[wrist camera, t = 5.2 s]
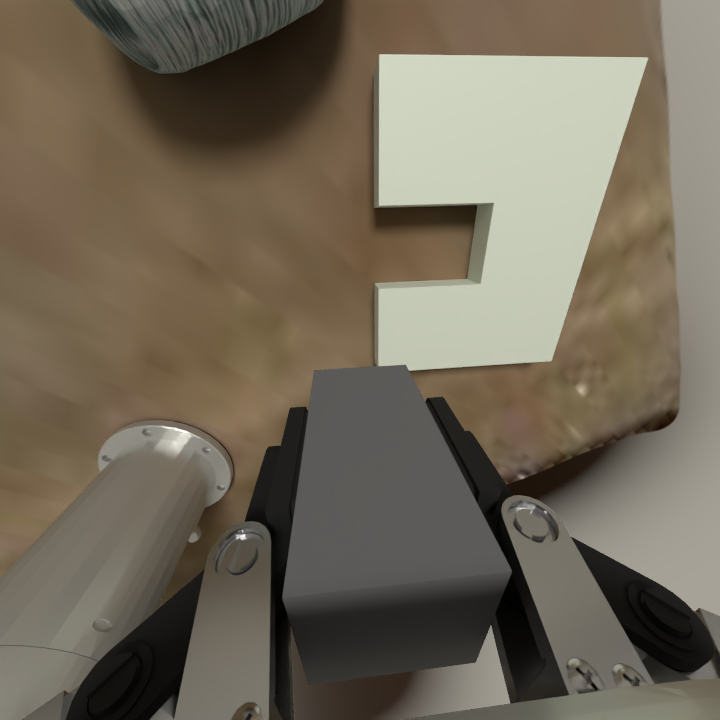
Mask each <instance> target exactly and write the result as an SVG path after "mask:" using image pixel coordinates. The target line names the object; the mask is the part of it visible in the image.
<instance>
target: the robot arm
mask: <svg viewBox="0 0 720 720" xmlns="http://www.w3.org/2000/svg"><path fill="white" fill-rule="evenodd" d="M425 403H426V405H427V407H428V409H429V411H430V412H431V414H432V416H433V418H434V420H435V422H436V424H437V426H438V428H439V430H440V432H441V434H442V436H443V438H444V440H445V442H446V444H447V446H448V447H449V449H450V451H451V453H452V455H453V457H454V459H455V461H456V463H457V465H458V467H459V469H460V471H461V473H462V475H463V477H464V479H465V480H466V482H467V484H468V486H469V488H470V490H471V492H472V494H473V496H474V498H475V500H476V502H477V504H478V506H479V508H480V510H481V512H482V513H483V515H484V517H485V519H486V521H487V523H488V525H489V527H490V529H491V531H492V533H493V535H494V537H495V539H496V541H497V543H498V545H499V547H500V548H501V550H502V552H503V554H504V556H505V558H506V560H507V562H508V564H509V566H510V568H511V570H512V573H511V576H510V578H509V581H508V583H507V586H506V588H505V591H504V593H503V595H502V598H501V600H500V603H499V605H498V608H497V610H496V613H495V615H494V618H493V620H492V623H491V626H492V630H493V634H494V638H495V642H496V646H497V650H498V654H499V659H500V663H501V667H502V671H503V675H504V679H505V683H506V687H507V691H508V695H509V699H510V703H511V704H504V705H498V706H491V707H484V708H477V709H470V710H464V711H456V712H450V713H443V714H436V715H429V716H423V717H416V718H409V719H402V720H720V616H718V615H715V614H713V613H711V612H708V611H706V610H703V609H701V608H699V609H698V610H696V611H693V610H691V608H690V607H689V606H688V605H687V604H686V603H685V602H684V601H682V600H681V599H680V598H679V597H677V596H676V595H675V594H674V593H673V592H671V591H669V590H668V589H666V588H665V587H663V586H662V585H660V584H658V583H656V582H654V581H653V580H651V579H649V578H647V577H645V576H643V575H642V574H640V573H638V572H636V571H634V570H632V569H630V568H628V567H627V566H625V565H623V564H621V563H619V562H617V561H615V560H614V559H612V558H610V557H608V556H606V555H604V554H602V553H600V552H598V551H597V550H595V549H593V548H591V547H589V546H587V545H586V544H584V543H582V542H580V541H578V540H576V539H574V538H572V537H571V536H570V535H569V533H568V531H567V529H566V528H565V526H564V524H563V523H562V521H561V520H560V518H559V517H558V516H557V514H556V513H554V512H553V511H552V510H551V509H550V508H549V507H548V506H546V505H544V504H543V503H541V502H540V501H538V500H535V499H533V498H530V497H526V496H513V494H512V493H511V491H510V490H509V488H508V487H507V485H506V484H505V482H504V481H503V479H502V478H501V476H500V475H499V473H498V471H497V470H496V468H495V467H494V465H493V464H492V462H491V461H490V459H489V458H488V456H487V455H486V453H485V452H484V450H483V449H482V447H481V446H480V444H479V443H478V441H477V440H476V438H475V437H474V435H473V434H472V433H471V432H470V431H464V429H463V428H462V426H461V424H460V423H459V421H458V420H457V418H456V417H455V415H454V413H453V412H452V410H451V409H450V407H449V405H448V404H447V402H446V401H445V399H444V398H443V397H435V398H427V400H426V402H425ZM307 418H308V411H307V409H306V407H295V408H290V410H289V414H288V418H287V422H286V427H285V431H284V435H283V439H282V443H281V446H271V447H268V448H267V450H266V453H265V456H264V459H263V463H262V466H261V469H260V473H259V476H258V479H257V482H256V486H255V489H254V492H253V496H252V499H251V502H250V506H249V509H248V512H247V516H246V519H245V522H242V523H240V524H237V525H235V526H233V527H231V528H230V529H228V530H227V531H225V532H224V533H223V534H222V535H221V536H220V537H219V538H218V539H217V540H216V542H215V543H214V545H213V546H212V548H211V549H210V552H209V555H208V558H207V561H206V565H205V570H203V571H202V572H201V573H200V574H199V575H198V576H196V577H195V578H194V579H193V580H192V581H191V582H189V583H188V584H187V585H186V586H185V587H184V588H182V589H181V590H180V591H179V592H178V593H176V594H175V595H174V596H173V597H172V598H171V599H169V600H168V601H167V602H166V603H165V604H164V605H162V606H161V607H160V608H159V609H158V610H157V608H158V606H159V603H160V601H161V599H162V597H163V595H164V593H165V590H166V588H167V586H168V584H169V582H170V579H171V577H172V575H173V573H174V571H175V569H176V566H177V564H178V562H179V560H180V558H181V556H182V553H183V551H184V549H185V547H186V545H187V542H188V541H189V542H191V543H193V542H196V541H197V540H198V539H199V538H200V537H201V533H202V532H201V530H200V528H199V526H198V522H199V520H200V518H201V515H202V513H203V511H204V509H205V508H206V507H209V506H211V505H212V504H214V503H216V502H217V501H218V500H220V499H221V498H222V497H223V496H224V495H225V493H226V492H227V491H228V488H229V486H230V484H231V481H232V477H233V465H232V461H231V458H230V456H229V455H228V453H227V452H226V450H225V449H224V448H223V447H222V446H221V444H220V443H219V442H218V441H216V440H215V439H214V438H212V437H211V436H210V435H208V434H206V433H205V432H203V431H201V430H199V429H197V428H194V427H192V426H189V425H186V424H182V423H178V422H174V421H165V420H146V421H141V422H136V423H132V424H130V425H127V426H125V427H123V428H121V429H120V430H118V431H116V432H115V433H114V434H113V435H112V436H111V437H110V438H109V439H108V440H107V441H105V443H104V444H103V446H102V447H101V449H100V451H99V454H98V467H99V470H100V473H99V474H98V475H97V477H96V478H95V479H94V480H93V481H92V482H91V483H90V484H89V485H88V486H87V487H86V488H85V489H84V490H83V491H82V492H81V493H80V495H79V496H78V497H77V498H76V499H75V500H74V501H73V502H72V503H71V504H70V505H69V506H68V507H67V508H66V509H65V510H64V511H63V513H62V514H61V515H60V516H59V517H58V518H57V519H56V520H55V521H54V522H53V523H52V524H51V525H50V526H49V527H48V528H47V529H46V531H45V532H44V533H43V534H42V535H41V536H40V537H39V538H38V539H37V540H36V541H35V542H34V543H33V544H32V545H31V546H30V547H29V549H28V550H27V551H26V552H25V553H24V554H23V555H22V556H21V557H20V558H19V559H18V560H17V561H16V562H15V563H14V564H13V565H12V567H11V568H10V569H9V570H8V571H7V572H6V573H5V574H4V575H3V576H2V577H1V578H0V720H294V699H293V675H292V648H291V625H290V622H289V618H288V615H287V612H286V609H285V605H284V602H283V599H282V596H283V588H284V581H285V574H286V567H287V560H288V553H289V546H290V539H291V532H292V525H293V517H294V510H295V503H296V496H297V489H298V482H299V475H300V468H301V461H302V453H303V446H304V439H305V432H306V425H307Z"/></svg>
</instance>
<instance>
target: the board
mask: <svg viewBox="0 0 720 720" xmlns="http://www.w3.org/2000/svg"><path fill="white" fill-rule="evenodd" d="M647 60H648V58H638V57H555V56H472V55H389V54H379V57H378V61H377V65H376V68H375V72H374V76H373V92H374V208H389V207H426V206H464V205H477V212H476V219H475V226H474V233H473V240H472V247H471V254H470V261H469V268H468V275H467V279H453V280H431V281H409V282H387V283H374V332H375V363H376V366H392V365H406V366H407V368H408V370H409V371H411V370H426V369H441V368H455V367H470V366H485V365H500V364H514V363H529V362H544V361H552V358H553V355H554V352H555V348H556V345H557V342H558V339H559V336H560V333H561V330H562V326H563V323H564V320H565V317H566V314H567V311H568V308H569V304H570V301H571V298H572V295H573V292H574V289H575V286H576V283H577V279H578V276H579V273H580V270H581V267H582V264H583V261H584V257H585V254H586V251H587V248H588V245H589V242H590V239H591V235H592V232H593V229H594V226H595V223H596V220H597V217H598V213H599V210H600V207H601V204H602V201H603V198H604V195H605V192H606V188H607V185H608V182H609V179H610V176H611V173H612V170H613V166H614V163H615V160H616V157H617V154H618V151H619V148H620V144H621V141H622V138H623V135H624V132H625V129H626V126H627V122H628V119H629V116H630V113H631V110H632V107H633V104H634V100H635V97H636V94H637V91H638V88H639V85H640V82H641V79H642V75H643V72H644V69H645V66H646V63H647Z"/></svg>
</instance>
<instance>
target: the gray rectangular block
mask: <svg viewBox="0 0 720 720" xmlns="http://www.w3.org/2000/svg"><path fill="white" fill-rule="evenodd" d="M511 573H512V570H511V568H510V566H509V564H508V562H507V560H506V558H505V556H504V554H503V552H502V550H501V548H500V547H499V545H498V543H497V541H496V539H495V537H494V535H493V533H492V531H491V529H490V527H489V525H488V523H487V521H486V519H485V517H484V515H483V513H482V512H481V510H480V508H479V506H478V504H477V502H476V500H475V498H474V496H473V494H472V492H471V490H470V488H469V486H468V484H467V482H466V480H465V479H464V477H463V475H462V473H461V471H460V469H459V467H458V465H457V463H456V461H455V459H454V457H453V455H452V453H451V451H450V449H449V447H448V446H447V444H446V442H445V440H444V438H443V436H442V434H441V432H440V430H439V428H438V426H437V424H436V422H435V420H434V418H433V416H432V414H431V412H430V411H429V409H428V407H427V405H426V403H425V401H424V399H423V397H422V395H421V393H420V391H419V389H418V387H417V385H416V383H415V381H414V379H413V378H412V376H411V374H410V372H409V370H408V368H407V366H406V365H392V366H376V367H360V368H344V369H328V370H314V375H313V382H312V390H311V397H310V404H309V411H308V418H307V425H306V432H305V439H304V446H303V453H302V461H301V468H300V475H299V482H298V489H297V496H296V503H295V510H294V517H293V525H292V532H291V539H290V546H289V553H288V560H287V567H286V574H285V581H284V588H283V596H282V599H283V602H284V605H285V609H286V612H287V615H288V618H289V622H290V625H291V628H292V631H293V635H294V638H295V642H296V645H297V648H298V652H299V655H300V658H301V661H302V664H303V668H304V671H305V675H306V678H307V681H308V684H309V685H313V684H320V683H328V682H335V681H342V680H350V679H357V678H365V677H372V676H379V675H387V674H394V673H401V672H409V671H416V670H423V669H430V668H438V667H446V666H453V665H460V664H468V663H475V662H476V660H477V658H478V655H479V653H480V650H481V648H482V645H483V643H484V640H485V638H486V635H487V633H488V630H489V628H490V625H491V623H492V620H493V618H494V615H495V613H496V610H497V608H498V605H499V603H500V600H501V598H502V595H503V593H504V591H505V588H506V586H507V583H508V581H509V578H510V576H511Z"/></svg>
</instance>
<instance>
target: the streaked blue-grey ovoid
mask: <svg viewBox="0 0 720 720" xmlns="http://www.w3.org/2000/svg"><path fill="white" fill-rule="evenodd" d="M71 1H72V2H73V3H74V4H75V5H76V7H77V8H78V9H79V10H80V11H81V12H82V13H83V14H84V15H85V16H86V17H87V18H88V19H89V20H90V21H91V22H92V23H93V24H94V25H95V26H96V27H97V28H98V29H99V31H100V32H101V33H102V34H103V35H104V36H106V37H107V38H108V39H109V40H110V41H111V42H112V43H113V44H114V45H115V46H116V47H117V48H118V49H120V50H121V51H122V52H123V53H124V54H125V55H127V56H128V57H129V58H130V59H132V60H133V61H134V62H136V63H138V64H139V65H141V66H143V67H145V68H147V69H149V70H151V71H154V72H156V73H183V72H187V71H188V70H190V69H192V68H194V67H197V66H201V65H203V64H206V63H208V62H211V61H213V60H215V59H217V58H220V57H222V56H224V55H226V54H229V53H232V52H234V51H236V50H238V49H240V48H242V47H244V46H246V45H249V44H251V43H253V42H255V41H258V40H260V39H262V38H265V37H267V36H269V35H271V34H273V33H274V32H276V31H278V30H279V29H281V28H283V27H285V26H287V25H288V24H290V23H292V22H293V21H295V20H297V19H298V18H300V17H302V16H303V15H305V14H307V13H309V12H311V11H313V10H315V9H316V8H317V7H318V6H319V5H320V4H321V3H322V2H323V1H324V0H71Z"/></svg>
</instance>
